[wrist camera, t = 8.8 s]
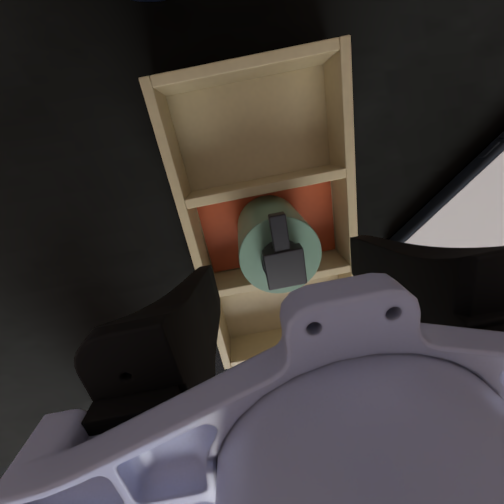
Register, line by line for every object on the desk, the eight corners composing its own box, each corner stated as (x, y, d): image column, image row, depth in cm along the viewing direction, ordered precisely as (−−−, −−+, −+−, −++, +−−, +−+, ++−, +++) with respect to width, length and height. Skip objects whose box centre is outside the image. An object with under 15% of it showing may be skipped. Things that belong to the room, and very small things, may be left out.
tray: (345, 318, 25) (362, 343, 22) (225, 341, 25) (224, 369, 22) (329, 53, 17) (351, 34, 14) (155, 88, 17) (137, 77, 14)
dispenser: (301, 248, 21) (334, 300, 14) (243, 259, 21) (248, 317, 14) (293, 182, 19) (327, 206, 12) (230, 194, 19) (228, 225, 12)
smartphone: (437, 301, 25) (610, 160, 21) (449, 312, 24) (639, 162, 19) (375, 245, 23) (557, 72, 18) (385, 253, 21) (585, 66, 17)
